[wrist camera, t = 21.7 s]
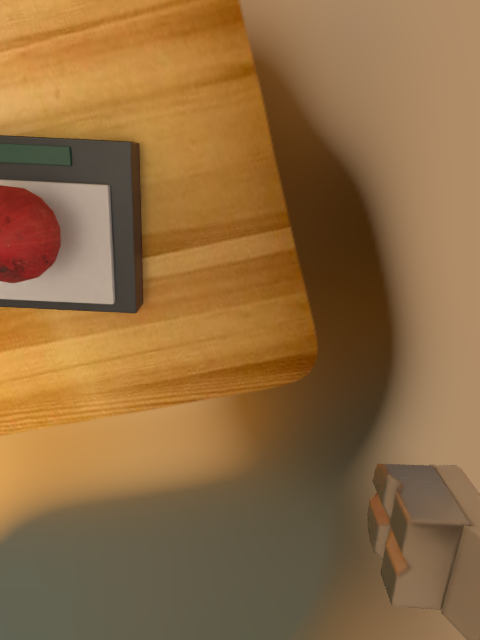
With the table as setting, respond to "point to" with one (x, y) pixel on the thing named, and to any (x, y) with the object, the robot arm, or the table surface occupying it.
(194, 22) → the table surface
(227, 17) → the table surface
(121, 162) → the scale
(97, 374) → the table surface
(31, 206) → the onion
